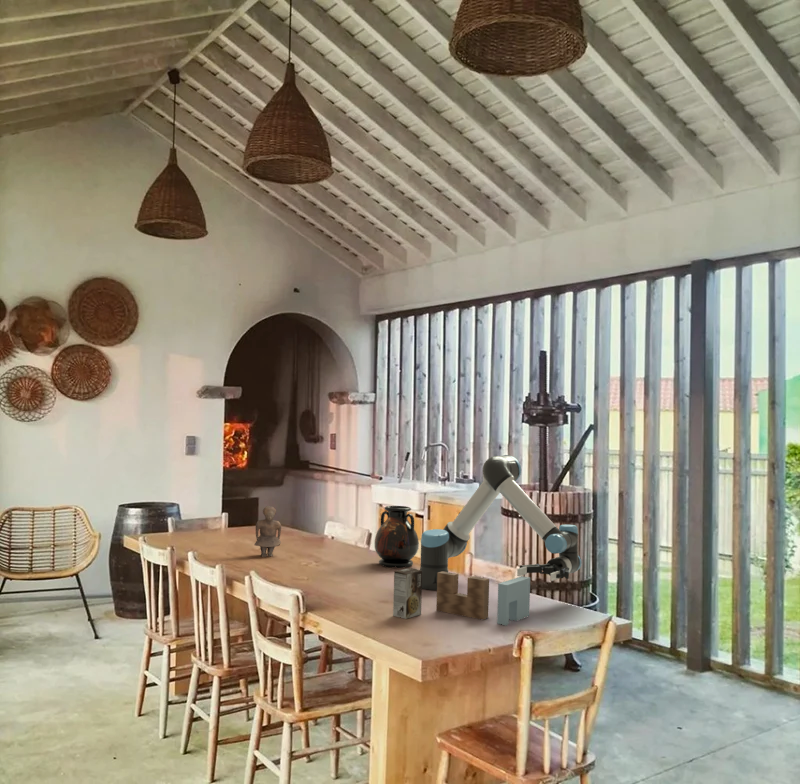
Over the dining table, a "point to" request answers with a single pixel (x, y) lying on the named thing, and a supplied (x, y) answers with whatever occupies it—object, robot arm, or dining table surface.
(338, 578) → the dining table surface
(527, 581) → the light blue block
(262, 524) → the clay figurine
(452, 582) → the u-shaped checkered block
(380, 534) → the amphora vase
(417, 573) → the coffee box
